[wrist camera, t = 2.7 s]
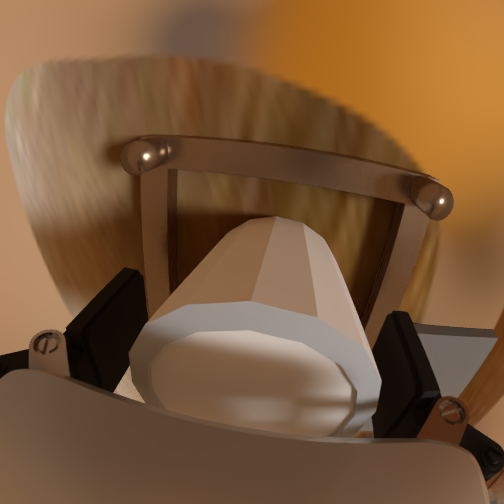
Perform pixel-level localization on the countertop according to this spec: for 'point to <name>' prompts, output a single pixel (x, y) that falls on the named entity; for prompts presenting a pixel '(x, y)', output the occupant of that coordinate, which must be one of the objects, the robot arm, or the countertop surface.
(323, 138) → the countertop surface
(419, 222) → the brown square frame
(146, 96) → the countertop surface
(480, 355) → the coaster
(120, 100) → the countertop surface
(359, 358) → the shot glass
